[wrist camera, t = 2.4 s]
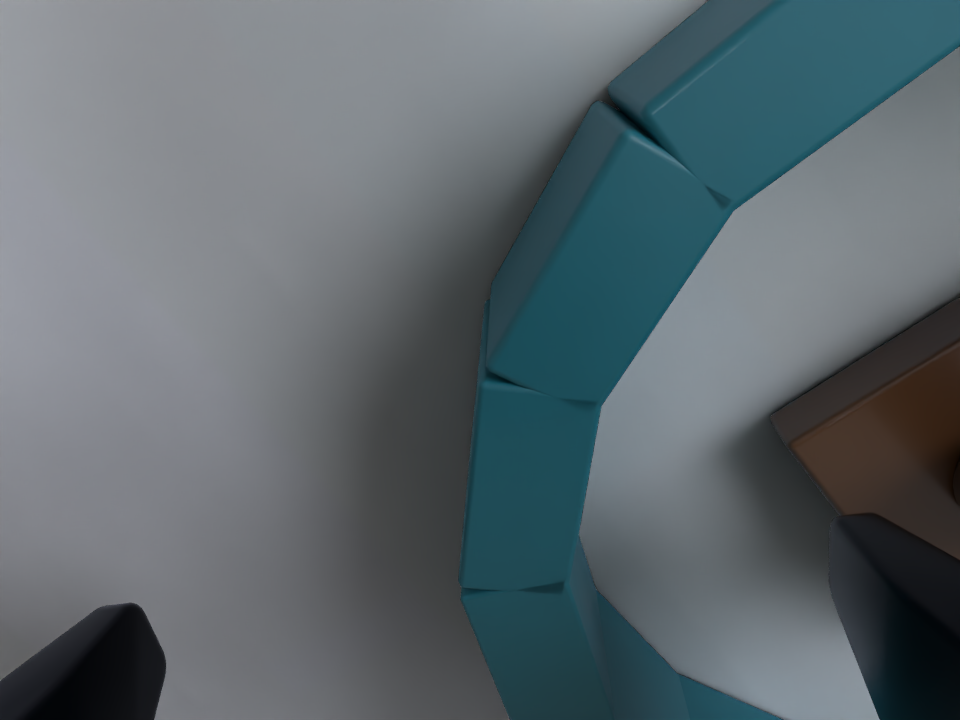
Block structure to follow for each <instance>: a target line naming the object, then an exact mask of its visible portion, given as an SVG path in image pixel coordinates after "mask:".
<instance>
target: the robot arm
mask: <svg viewBox="0 0 960 720" xmlns="http://www.w3.org/2000/svg"><path fill="white" fill-rule="evenodd" d="M828 577H829V586H830V591H831V595H832V599H833V601H834V604H835V607H836V609H837V612H838V614H839V617H840V619H841V622H842V625H843V627H844V630H845V632H846V635H847V637H848V640H849V642H850V645H851V647H852V650H853V653H854V655H855V658H856V660H857V663H858V665H859V668H860V670H861V673H862V676H863V678H864V681H865V683H866V686H867V688H868V691H869V693H870V696H871V699H872V701H873V704H874V706H875V709H876V711H877V714H878V716H879V719H880V720H960V560H959V559H957V558H956V557H954V556H952V555H950V554H948V553H947V552H945V551H943V550H941V549H940V548H938V547H936V546H934V545H932V544H931V543H929V542H927V541H925V540H923V539H922V538H920V537H918V536H916V535H915V534H913V533H911V532H909V531H907V530H906V529H904V528H902V527H900V526H899V525H897V524H895V523H893V522H891V521H890V520H888V519H886V518H884V517H882V516H881V515H878V514H876V513H873V512H865V513H857V514H849V515H841V516H837V517H835V518H834V519H833V520H832V522H831V525H830V531H829V573H828ZM165 674H166V660H165V655H164V652H163V650H162V647H161V645H160V643H159V641H158V639H157V637H156V635H155V633H154V631H153V629H152V627H151V625H150V623H149V620H148V618H147V616H146V614H145V612H144V611H143V609H142V608H141V607H140V606H139V605H137V604H135V603H123V604H115V605H107V606H103V607H100V608H98V609H96V610H94V611H93V612H92V613H90V614H89V615H88V616H86V617H85V618H84V619H82V620H81V621H80V622H78V623H77V624H76V625H74V626H73V627H72V628H70V629H69V630H68V631H66V632H65V633H64V634H62V635H61V636H60V637H58V638H57V639H56V640H54V641H53V642H52V643H50V644H49V645H48V646H46V647H45V648H44V649H42V650H41V651H40V652H38V653H37V654H36V655H34V656H33V657H32V658H30V659H29V660H28V661H26V662H25V663H23V664H22V665H21V666H19V667H18V668H17V669H15V670H14V671H13V672H11V673H10V674H9V675H7V676H6V677H5V678H3V679H2V680H1V681H0V720H154V718H155V714H156V710H157V706H158V702H159V698H160V695H161V691H162V687H163V683H164V679H165Z"/></svg>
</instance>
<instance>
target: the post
mask: <svg viewBox="0 0 960 720" xmlns="http://www.w3.org/2000/svg"><path fill="white" fill-rule="evenodd" d="M770 419H771V423H772V425H773V427H774V428H775V430H776V431H777V433H778V434H779V436H780V438H781V439H782V441H783V442H784V444H785V445H786V447H787V448H788V450H789V451H790V452H791V454H792V455H793V456H794V457H795V459H796V460H797V461H798V463H799V464H800V465H801V467H802V468H803V469H804V470H805V472H806V473H807V474H808V476H809V477H810V478H811V479H812V481H813V482H814V483H815V485H816V486H817V487H818V489H819V490H820V491H821V492H822V494H823V495H824V496H825V498H826V499H827V500H828V501H829V503H830V504H831V505H832V507H833V508H834V509H835V511H836V512H837V513H838V514H839V516H841V515H849V514H857V513H865V512H873V513H876V514H878V515H881V516H882V517H884V518H886V519H888V520H890V521H891V522H893V523H895V524H897V525H899V526H900V527H902V528H904V529H906V530H907V531H909V532H911V533H913V534H915V535H916V536H918V537H920V538H922V539H923V540H925V541H927V542H929V543H931V544H932V545H934V546H936V547H938V548H940V549H941V550H943V551H945V552H947V553H948V554H950V555H952V556H954V557H956V558H957V559H959V560H960V297H958V298H957V299H955V300H954V301H952V302H950V303H949V304H947V305H946V306H944V307H942V308H941V309H939V310H938V311H936V312H935V313H933V314H931V315H930V316H928V317H927V318H925V319H923V320H922V321H920V322H919V323H917V324H915V325H914V326H912V327H911V328H909V329H907V330H906V331H904V332H903V333H901V334H899V335H898V336H896V337H895V338H893V339H891V340H890V341H888V342H887V343H885V344H883V345H882V346H880V347H879V348H877V349H876V350H874V351H872V352H871V353H869V354H868V355H866V356H864V357H863V358H861V359H860V360H858V361H856V362H855V363H853V364H852V365H850V366H848V367H847V368H845V369H844V370H842V371H840V372H839V373H837V374H836V375H834V376H832V377H831V378H829V379H828V380H826V381H824V382H823V383H821V384H820V385H818V386H817V387H815V388H813V389H812V390H810V391H809V392H807V393H805V394H804V395H802V396H801V397H799V398H797V399H796V400H794V401H793V402H791V403H789V404H788V405H786V406H785V407H783V408H781V409H780V410H778V411H777V412H775V413H773V414H772V416H771V417H770Z"/></svg>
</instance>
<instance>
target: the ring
mask: <svg viewBox="0 0 960 720" xmlns="http://www.w3.org/2000/svg"><path fill="white" fill-rule="evenodd" d="M959 46H960V0H709V1H708V2H706V3H705V4H704V5H703V6H702V7H700V8H699V9H698V10H697V11H696V12H694V13H693V14H692V15H691V16H690V17H688V18H687V19H686V20H685V21H684V22H682V23H681V24H680V25H679V26H678V27H676V28H675V29H674V30H673V31H672V32H670V33H669V34H668V35H667V36H666V37H664V38H663V39H662V40H661V41H659V42H658V43H657V44H656V45H655V46H653V47H652V48H651V49H650V50H649V51H647V52H646V53H645V54H644V55H643V56H641V57H640V58H639V59H638V60H637V61H635V62H634V63H633V64H632V65H631V66H629V67H628V68H627V69H626V70H625V71H623V72H622V73H621V74H620V75H619V76H617V77H616V78H615V79H614V80H613V81H611V83H610V85H609V86H608V88H607V89H608V93H609V96H610V97H611V99H612V100H613V102H614V103H615V104H616V106H617V107H618V108H619V110H620V111H619V110H617V109H615V108H614V107H612V106H610V105H608V104H607V103H605V102H603V101H596V102H595V103H594V104H592V105H591V107H590V109H589V110H588V112H587V114H586V116H585V117H584V119H583V121H582V123H581V125H580V126H579V128H578V130H577V132H576V134H575V135H574V137H573V139H572V141H571V142H570V144H569V146H568V148H567V150H566V151H565V153H564V155H563V157H562V159H561V160H560V162H559V164H558V166H557V167H556V169H555V171H554V173H553V175H552V176H551V178H550V180H549V182H548V184H547V185H546V187H545V189H544V191H543V192H542V194H541V196H540V198H539V200H538V201H537V203H536V205H535V207H534V209H533V210H532V212H531V214H530V216H529V217H528V219H527V221H526V223H525V225H524V226H523V228H522V230H521V232H520V234H519V235H518V237H517V239H516V241H515V242H514V244H513V246H512V248H511V250H510V251H509V253H508V255H507V257H506V259H505V260H504V262H503V264H502V266H501V267H500V269H499V271H498V273H497V275H496V276H495V278H494V280H493V282H492V284H491V296H490V300H487V301H486V302H485V304H484V313H483V324H482V334H481V344H480V354H479V364H478V375H477V385H476V395H475V405H474V415H473V426H472V436H471V446H470V456H469V466H468V477H467V488H466V500H465V511H464V522H463V533H462V544H461V555H460V566H459V577H458V581H459V584H460V586H461V599H460V600H461V602H462V605H463V607H464V610H465V612H466V614H467V617H468V619H469V622H470V624H471V627H472V629H473V631H474V634H475V636H476V639H477V641H478V644H479V646H480V648H481V651H482V653H483V656H484V658H485V661H486V663H487V666H488V668H489V670H490V673H491V675H492V678H493V680H494V683H495V685H496V687H497V690H498V692H499V695H500V697H501V700H502V702H503V704H504V707H505V709H506V712H507V714H508V717H509V719H510V720H783V719H781V718H779V717H776V716H774V715H772V714H769V713H767V712H765V711H762V710H760V709H758V708H756V707H753V706H751V705H749V704H746V703H744V702H742V701H740V700H737V699H735V698H733V697H730V696H728V695H726V694H723V693H721V692H719V691H717V690H714V689H712V688H710V687H707V686H705V685H703V684H701V683H698V682H696V681H694V680H691V679H689V678H687V677H684V676H682V675H680V674H678V673H676V672H675V671H674V670H673V669H672V668H671V667H670V666H669V665H668V664H667V663H666V662H665V660H664V659H663V658H662V657H661V656H660V655H659V654H658V653H657V652H656V651H655V650H654V649H653V648H652V647H651V646H650V645H649V644H648V643H647V642H646V641H645V640H644V639H643V638H642V637H641V636H640V635H639V633H638V632H637V631H636V630H635V629H634V628H633V627H632V626H631V625H630V624H629V623H628V622H627V621H626V620H625V619H624V618H623V617H622V616H621V615H620V614H619V613H618V612H617V611H616V610H615V609H614V608H613V607H612V605H611V604H610V603H609V602H608V601H607V600H606V599H605V598H604V597H603V596H602V595H601V594H600V593H599V592H598V591H597V590H596V588H595V585H594V581H593V578H592V575H591V572H590V569H589V566H588V562H587V559H586V556H585V553H584V550H583V547H582V543H581V540H580V537H579V530H580V524H581V518H582V513H583V507H584V501H585V496H586V490H587V485H588V479H589V473H590V468H591V462H592V456H593V451H594V445H595V439H596V434H597V428H598V423H599V417H600V411H601V406H602V405H603V403H604V402H605V400H606V399H607V397H608V396H609V394H610V393H611V391H612V390H613V388H614V387H615V385H616V384H617V382H618V381H619V380H620V378H621V377H622V375H623V374H624V372H625V371H626V369H627V368H628V366H629V365H630V363H631V362H632V360H633V359H634V357H635V356H636V354H637V353H638V351H639V350H640V348H641V347H642V346H643V344H644V343H645V341H646V340H647V338H648V337H649V335H650V334H651V332H652V331H653V329H654V328H655V326H656V325H657V323H658V322H659V320H660V319H661V317H662V316H663V314H664V313H665V311H666V310H667V309H668V307H669V306H670V304H671V303H672V301H673V300H674V298H675V297H676V295H677V294H678V292H679V291H680V289H681V288H682V286H683V285H684V283H685V282H686V280H687V279H688V277H689V276H690V275H691V273H692V272H693V270H694V269H695V267H696V266H697V264H698V263H699V261H700V260H701V258H702V257H703V255H704V254H705V252H706V251H707V249H708V248H709V246H710V245H711V243H712V242H713V240H714V239H715V238H716V236H717V235H718V233H719V232H720V230H721V229H722V227H723V226H724V224H725V223H726V221H727V220H728V218H729V217H730V215H731V214H732V212H733V211H734V210H735V209H737V208H738V207H740V206H741V205H742V204H744V203H745V202H746V201H748V200H749V199H750V198H752V197H753V196H755V195H756V194H757V193H759V192H760V191H761V190H763V189H764V188H766V187H767V186H768V185H770V184H771V183H772V182H774V181H775V180H777V179H778V178H779V177H781V176H782V175H783V174H785V173H786V172H788V171H789V170H790V169H792V168H793V167H794V166H796V165H797V164H799V163H800V162H801V161H803V160H804V159H805V158H807V157H808V156H810V155H811V154H812V153H814V152H815V151H816V150H818V149H819V148H821V147H822V146H823V145H825V144H826V143H827V142H829V141H830V140H832V139H833V138H834V137H836V136H837V135H838V134H840V133H841V132H843V131H844V130H845V129H847V128H848V127H849V126H851V125H852V124H853V123H855V122H856V121H858V120H859V119H860V118H862V117H863V116H864V115H866V114H867V113H869V112H870V111H871V110H873V109H874V108H875V107H877V106H878V105H880V104H881V103H882V102H884V101H885V100H886V99H888V98H889V97H891V96H892V95H893V94H895V93H896V92H897V91H899V90H900V89H902V88H903V87H904V86H906V85H907V84H908V83H910V82H911V81H913V80H914V79H915V78H917V77H918V76H919V75H921V74H922V73H924V72H925V71H926V70H928V69H929V68H930V67H932V66H933V65H935V64H936V63H937V62H939V61H940V60H941V59H943V58H944V57H945V56H947V55H948V54H950V53H951V52H952V51H954V50H955V49H956V48H958V47H959Z"/></svg>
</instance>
